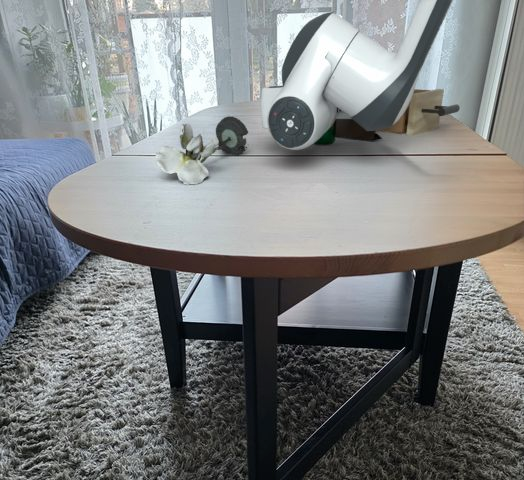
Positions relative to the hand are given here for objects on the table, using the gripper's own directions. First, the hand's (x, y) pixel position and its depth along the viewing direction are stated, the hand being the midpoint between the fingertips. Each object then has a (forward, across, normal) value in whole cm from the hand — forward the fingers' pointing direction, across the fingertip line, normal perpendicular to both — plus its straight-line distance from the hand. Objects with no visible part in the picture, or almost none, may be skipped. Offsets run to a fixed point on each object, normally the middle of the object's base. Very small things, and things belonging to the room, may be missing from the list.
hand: (324, 99), depth 96 cm
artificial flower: (-25, +14, +8) cm, 30 cm away
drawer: (+7, -15, +7) cm, 18 cm away
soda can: (0, 0, +8) cm, 8 cm away
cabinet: (+12, -6, +8) cm, 15 cm away
